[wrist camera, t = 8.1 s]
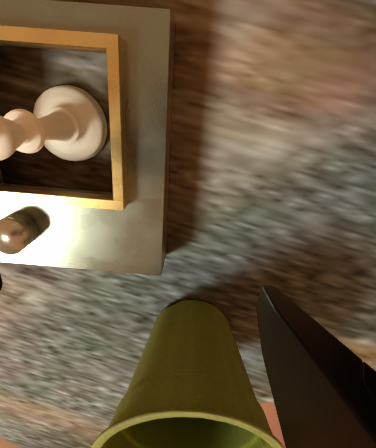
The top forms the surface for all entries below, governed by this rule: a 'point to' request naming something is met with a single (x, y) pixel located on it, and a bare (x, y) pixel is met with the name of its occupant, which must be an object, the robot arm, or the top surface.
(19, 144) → the chess piece
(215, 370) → the plant pot
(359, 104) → the top surface
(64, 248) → the grey hollow block
